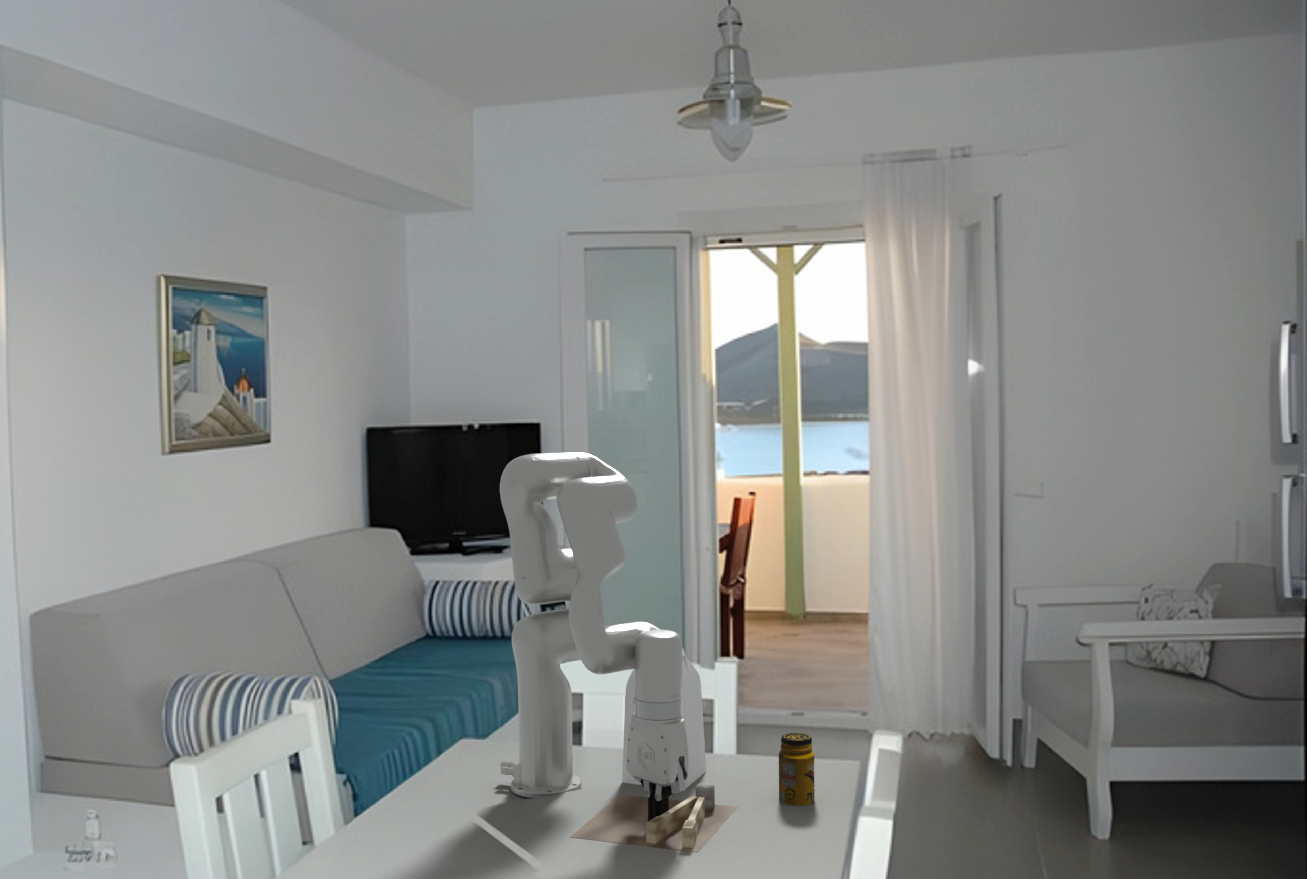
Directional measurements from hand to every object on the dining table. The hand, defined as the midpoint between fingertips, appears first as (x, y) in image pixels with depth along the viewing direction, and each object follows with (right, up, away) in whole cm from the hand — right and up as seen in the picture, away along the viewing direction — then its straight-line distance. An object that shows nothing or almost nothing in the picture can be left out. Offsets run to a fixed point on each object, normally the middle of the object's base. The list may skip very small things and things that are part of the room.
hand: (658, 821), depth 199 cm
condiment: (+23, -1, +12) cm, 26 cm away
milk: (+1, -1, +26) cm, 26 cm away
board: (0, -2, +2) cm, 3 cm away
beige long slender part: (+6, -1, +1) cm, 6 cm away
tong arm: (+2, -1, -1) cm, 3 cm away
